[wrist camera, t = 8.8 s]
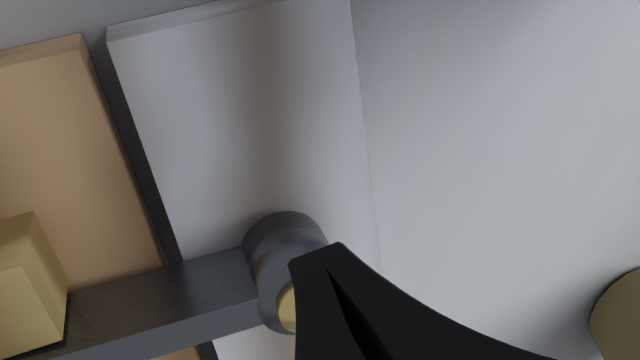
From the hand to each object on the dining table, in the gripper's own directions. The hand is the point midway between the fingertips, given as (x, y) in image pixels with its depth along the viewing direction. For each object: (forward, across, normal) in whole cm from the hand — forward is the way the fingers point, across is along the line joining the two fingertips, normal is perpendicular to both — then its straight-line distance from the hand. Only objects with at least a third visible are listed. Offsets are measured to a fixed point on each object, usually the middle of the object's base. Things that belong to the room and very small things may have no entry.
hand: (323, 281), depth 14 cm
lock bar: (+7, +5, +3) cm, 9 cm away
